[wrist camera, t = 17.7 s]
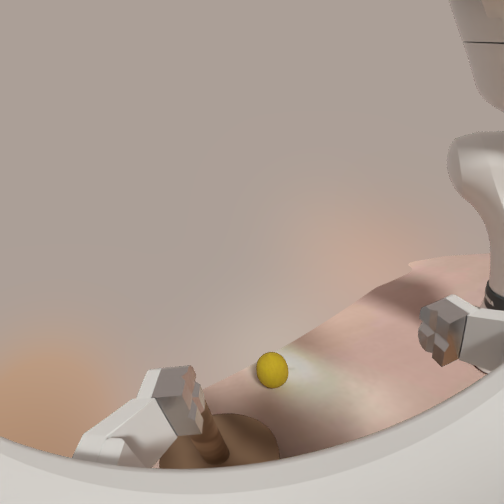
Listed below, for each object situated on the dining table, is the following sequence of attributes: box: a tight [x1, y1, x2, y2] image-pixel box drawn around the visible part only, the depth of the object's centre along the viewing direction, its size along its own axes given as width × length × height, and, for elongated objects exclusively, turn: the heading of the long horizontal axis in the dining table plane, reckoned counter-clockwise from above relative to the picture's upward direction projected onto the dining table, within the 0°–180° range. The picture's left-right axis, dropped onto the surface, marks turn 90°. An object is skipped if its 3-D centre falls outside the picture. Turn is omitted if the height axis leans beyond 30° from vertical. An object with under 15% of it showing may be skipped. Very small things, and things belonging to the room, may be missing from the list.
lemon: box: [256, 352, 288, 388], centre depth 46 cm, size 6×6×8 cm
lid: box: [159, 399, 279, 469], centre depth 28 cm, size 16×16×12 cm
